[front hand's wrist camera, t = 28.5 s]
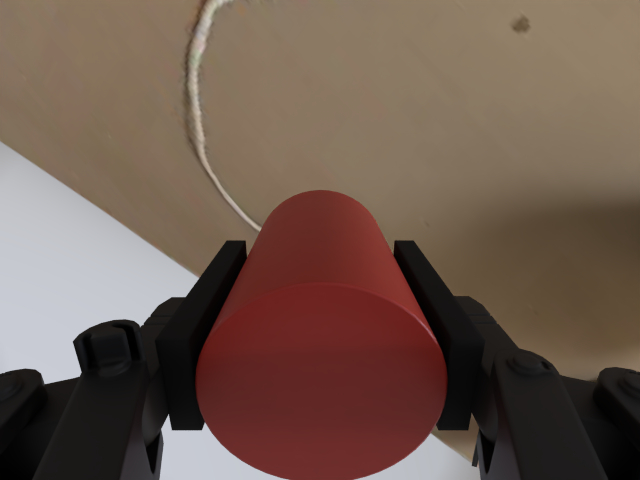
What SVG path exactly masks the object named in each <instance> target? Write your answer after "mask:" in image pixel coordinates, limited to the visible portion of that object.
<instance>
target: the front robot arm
mask: <svg viewBox="0 0 640 480" xmlns="http://www.w3.org/2000/svg"><path fill="white" fill-rule="evenodd" d="M394 258H395V260H396V262H397V264H398V265H399V267H400V269H401V271H402V273H403V275H404V277H405V279H406V281H407V283H408V285H409V287H410V289H411V291H412V293H413V295H414V297H415V299H416V301H417V303H418V305H419V307H420V308H421V310H422V312H423V314H424V316H425V318H426V320H427V322H428V324H429V326H430V328H431V330H432V332H433V334H434V336H435V338H436V340H437V342H438V344H439V346H440V348H441V350H442V353H443V356H444V359H445V363H446V368H447V376H448V383H447V395H446V400H445V405H444V408H443V410H442V413H441V416H440V418H439V420H438V422H437V424H436V425H437V428H438V430H468V429H469V424H470V418H471V413H472V414H473V416H474V418H475V420H476V422H477V424H478V426H479V431H478V436H477V441H476V446H475V451H474V455H473V461H472V466H474V467H477V463H478V460H479V468H480V477H481V480H640V372H636V371H634V370H630V369H625V368H618V367H612V368H605V369H604V370H602V371H601V372H600V373H599V376H598V379H597V382H596V383H594V382H589V381H584V380H579V379H575V378H570V377H565V376H562V375H559V372H558V371H557V370H556V368H555V367H554V366H553V364H551V363H550V362H549V361H547V360H546V359H545V358H543V357H541V356H539V355H537V354H535V353H533V352H530V351H527V350H523V349H519V348H518V347H517V346H516V344H515V343H514V342H513V341H512V340H511V338H510V337H509V336H508V335H507V334H506V333H505V331H504V330H503V329H502V328H501V327H500V325H499V324H497V322H496V321H495V319H494V318H493V317H492V316H490V313H489V312H488V311H487V310H486V309H485V308H484V306H483V305H482V304H480V303H479V302H477V301H476V300H474V299H472V298H471V297H469V296H453V294H452V293H451V292H450V290H449V289H448V288H447V286H446V285H445V283H444V282H443V281H442V279H441V278H440V277H439V275H438V274H437V272H436V271H435V270H434V268H433V267H432V265H431V264H430V263H429V261H428V260H427V259H426V257H425V256H424V254H423V253H422V252H421V250H420V249H419V248H418V246H417V245H416V243H415V242H414V241H395V243H394ZM246 259H247V253H246V241H226V242H225V244H224V245H223V246H222V248H221V249H220V251H219V252H218V253H217V255H216V256H215V258H214V259H213V260H212V262H211V263H210V264H209V266H208V267H207V269H206V270H205V271H204V273H203V274H202V275H201V277H200V278H199V280H198V281H197V283H196V284H195V285H194V287H193V288H192V289H191V291H190V292H189V293H188V295H187V296H186V297H172V298H170V299H168V300H167V301H165V302H163V303H162V304H160V305H159V306H158V307H157V308H156V309H155V311H154V312H153V313H152V314H151V316H150V317H149V318H148V319H147V320H146V321H145V322H144V325H142V326H141V327H140V326H139V324H137V323H136V322H135V321H131V320H112V321H108V322H104V323H100V324H98V325H95V326H93V327H91V328H89V329H87V330H85V331H84V332H82V333H81V334H79V335H78V336H77V338H76V339H75V340H74V341H73V344H74V347H75V351H76V354H77V357H78V361H79V364H80V368H81V371H82V373H81V375H80V377H77V378H73V379H68V380H63V381H59V382H54V383H50V384H44V381H43V378H42V375H41V373H39V372H38V371H37V370H33V369H20V370H14V371H9V372H5V373H2V374H0V480H159V478H160V469H161V461H162V452H163V444H164V443H163V436H162V431H161V428H162V426H163V424H164V422H165V420H166V418H167V416H168V414H169V417H170V422H171V427H172V430H202V428H203V425H204V423H205V421H204V418H203V416H202V414H201V412H200V409H199V405H198V401H197V398H196V388H195V375H196V367H197V363H198V358H199V355H200V353H201V350H202V348H203V345H204V343H205V341H206V339H207V337H208V335H209V333H210V331H211V329H212V327H213V325H214V323H215V321H216V319H217V317H218V315H219V313H220V311H221V309H222V307H223V305H224V303H225V301H226V299H227V297H228V295H229V293H230V291H231V289H232V287H233V285H234V283H235V281H236V279H237V277H238V275H239V273H240V271H241V269H242V267H243V265H244V263H245V261H246Z"/></svg>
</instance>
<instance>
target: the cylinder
mask: <svg viewBox="0 0 640 480" xmlns="http://www.w3.org/2000/svg"><path fill="white" fill-rule="evenodd" d="M447 383H448V376H447V368H446V363H445V359H444V356H443V353H442V350H441V348H440V346H439V344H438V342H437V340H436V338H435V336H434V334H433V332H432V330H431V328H430V326H429V324H428V322H427V320H426V318H425V316H424V314H423V312H422V310H421V308H420V307H419V305H418V303H417V301H416V299H415V297H414V295H413V293H412V291H411V289H410V287H409V285H408V283H407V281H406V279H405V277H404V275H403V273H402V271H401V269H400V267H399V265H398V264H397V262H396V260H395V258H394V256H393V254H392V252H391V250H390V248H389V246H388V244H387V242H386V240H385V238H384V236H383V234H382V232H381V230H380V228H379V226H378V224H377V222H376V221H375V219H374V218H373V216H372V215H371V213H370V212H369V211H368V210H367V209H366V208H365V207H364V206H363V205H362V204H360V203H359V202H358V201H356V200H354V199H353V198H351V197H349V196H347V195H344V194H341V193H338V192H333V191H327V190H316V191H308V192H304V193H300V194H297V195H295V196H293V197H291V198H289V199H287V200H285V201H284V202H282V203H281V204H280V205H279V206H278V207H276V208H275V209H274V210H273V212H272V213H271V214H270V215H269V216H268V218H267V220H266V221H265V223H264V225H263V227H262V229H261V231H260V233H259V235H258V237H257V239H256V241H255V243H254V245H253V247H252V249H251V251H250V253H249V255H248V257H247V259H246V261H245V263H244V265H243V267H242V269H241V271H240V273H239V275H238V277H237V279H236V281H235V283H234V285H233V287H232V289H231V291H230V293H229V295H228V297H227V299H226V301H225V303H224V305H223V307H222V309H221V311H220V313H219V315H218V317H217V319H216V321H215V323H214V325H213V327H212V329H211V331H210V333H209V335H208V337H207V339H206V341H205V343H204V345H203V348H202V350H201V353H200V355H199V358H198V363H197V367H196V375H195V388H196V398H197V401H198V405H199V409H200V412H201V414H202V416H203V418H204V421H205V423H206V424H207V426H208V427H209V429H210V431H211V432H212V434H213V435H214V436H215V437H216V438H217V440H218V441H219V442H220V443H221V444H222V445H223V446H224V447H225V448H226V449H227V450H228V451H229V452H230V453H232V454H233V455H235V456H236V457H237V458H239V459H240V460H241V461H243V462H245V463H247V464H248V465H250V466H252V467H254V468H256V469H258V470H260V471H263V472H265V473H267V474H270V475H274V476H277V477H280V478H284V479H289V480H354V479H358V478H362V477H366V476H369V475H372V474H375V473H377V472H380V471H382V470H384V469H386V468H389V467H391V466H393V465H394V464H396V463H398V462H399V461H401V460H402V459H404V458H406V457H407V456H408V455H409V454H411V453H412V452H413V451H414V450H416V449H417V448H418V447H419V446H420V445H421V444H422V443H423V442H424V441H425V439H426V438H427V437H428V436H429V434H430V433H431V432H432V430H433V429H434V427H435V425H436V424H437V422H438V420H439V418H440V416H441V413H442V410H443V408H444V405H445V400H446V395H447Z"/></svg>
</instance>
